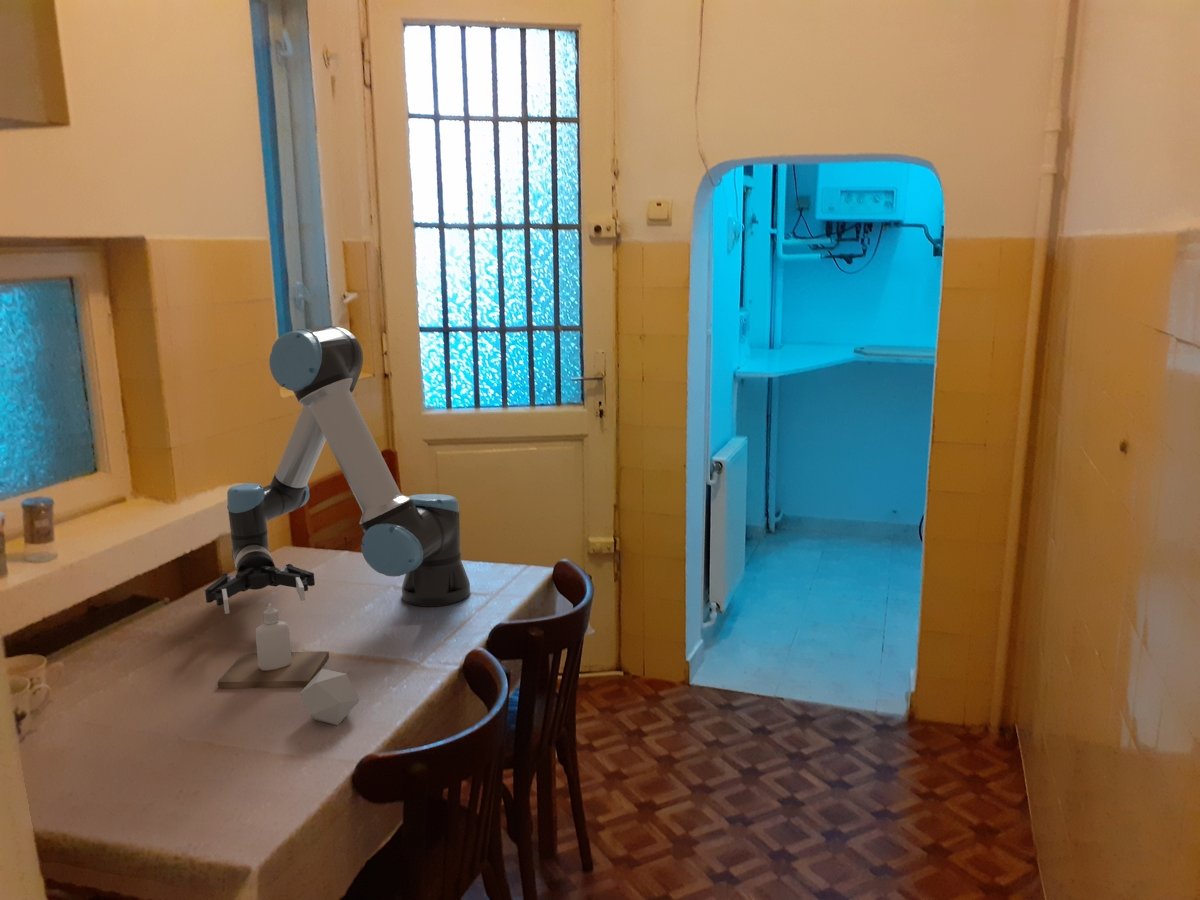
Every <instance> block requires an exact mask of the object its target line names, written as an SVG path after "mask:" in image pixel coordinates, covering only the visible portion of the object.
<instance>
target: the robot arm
mask: <svg viewBox="0 0 1200 900" xmlns="http://www.w3.org/2000/svg"><path fill="white" fill-rule="evenodd" d="M363 353H364V352H363V348H362V346H361V343H360V341H359V340H358V338H357V337H356V336H355V334H353V333H352V332H350V331H349V330H347V329H346V328H343V327H339V326H332V325H330V326H324V327H316V328H299V329H296V330H292V331H289V332H285V333H284V334H282V335H281V336H279V337H278V338H277V339H276V341H275V342H274V343H273V345H272V348H271V352H270V354H269V369H270V372H271V373H270V374H271V376H272V377H273V380H274V381H275V382H276V383H277V384H278V385H279V386H280V387H282V388H284V389H286V390H288V391H291V392H293V393H294V396H295V398H296V399H297V401H298V404H299V405H302V408H301V410H300V412H299V416H298V418H297V420H296V423H295V425H294V427H293V429H292V432H291V434H290V437H289V440H288V442H287V444H286V447H285V449H284V452H283V454H282V456H281V459H280V461H279V464H278V465H277V468H276V470H275V473H274V475H273V477H272V480H271V482H270V484H269V485H265V486H264V487H263V485H261V484H260V483H253V482H251V483H250V482H249V483H241V484H236V485H232V486H231V487H230V488H229V489H228V490H227V494H226V495H227V496H226V497H227V498H226V499H227V506H226V507H227V511H228V512H227V513H228V519H229V527H230V530H229V531H230V537H231V538H230V540H231V558H232V560H233V563H234V565H235V567H234V568H235V570H236V574H235V576H234V575H233V576H231V575H230V574H228V573H222V574H221V575H220V578H218V579H217V580H216V581H214V582H213V583H212V584H211V585H209V586H208V587H207V588H206V589H204V592H205V593H204V594H205V602H206V603H209V604H210V603H213V602H214V601H216V606H218V607H221V606H223V609H224V610H223V611H224V614H226V615H227V614H230V606H229V605H230V604H229V598H230V597H231V598H232V596H235V595H237V594H239V593H240V592H244V593H245V592H246V591H248V590H252V591H253V590H254V591H255V590H261V589H264V588H267V587H268V586H269V587H278V586H284V587H290V588H296V592H297V594H298V596H299V600H300V601H302V602H303V601H305V600H306V593H305V592H308V591H309V587H313V586H315V585H316V584H315V573H314V572H311V571H309V570H305V569H302V568H300V567H296V566H294V565H293V564H291V563H288V564H285V566H284V568H281V569H279V568H278V567H276V564H275V562H274V559H273V557H272V554H271V552H270V551H271V550H270V545H269V534H268V533H269V532H268V524H267V522H269V521H272V520H274V519H276V518H278V517H282V516H284V515H286V514H289V513H291V512H294V511H296V510H298V509H300V508H301V507H303V506H305V505H306V504H307V502H308V501H309V499H310V496H311V495H310V488H309V486H308V483H309V481H310V479H311V476H312V473H313V471H314V469H315V468H316V464H317V462H318V461H319V458H320V456H321V454H322V452H323V451H322V450H323V449H324V446H325V444H326V442H327V444H328V446H329V448H330V450H331V452H332V454H333V457H334V458H335V461H337V462H336V463H338V464H337V465H338V466H339V468H340V469H341V472H342V474H343V476H344V478H345V479H346V482H347V484H348V487H350V490H351V492H352V494H353V495H354V498H355V499H356V502H357V503H358V505H359V508H360V510H361V512H362V514H361V518H360V520H359V525H360V527H361V529H362V531H363V533H364V534H363V536H362V538H361V539H362V540H361V545H360V548H361V553H362V556H363V558H364V560H365V562H366V563H367V564H368V566H369V567H370V568H371V569H373V570H374V571H375V572H376V573H378V574H383V575H384V576H387V577H393V578H394V577H400V576H404V578H403V582H402V586H401V597H402V600H403V601H404V602H406V603H407V604H409V605H413V606H418V607H440V606H441V607H442V606H447V605H452V604H456V603H458V602H461V601H463V600H464V599H466V598H468V597H469V595H470V593H471V583H470V580H469V577H468V574H467V572H466V570H465V569H466V568H465V567H464V564H463V561H462V554H461V551H462V549H461V526H460V525H461V523H460V521H461V519H460V512H461V511H460V510H459V509H460V508H459V507H460V506H459V501H458V499H457V498H456V497H455V496H452V495H449V494H442V493H440V494H439V493H422V494H421V493H420V494H412V495H409V496H407V495H405V494H403V493H402V492H401V490H400V489H399V487H398V484H397V483H396V481H395V478H394V477H393V475H392V473H391V471H390V469H389V467H388V465H387V463H386V461H385V459H384V456H383V455H382V453H381V451H380V449H379V446H378V445H377V443H376V441H375V439H374V436H373V435H372V432H371V430H370V427H368V425H367V423H366V421H365V419H364V417H363V415H362V413H361V411H360V409H359V407H358V405H357V402H356V401H355V398H354V397H353V395H352V393H353V392H354V389H355V387H356V385H357V383H358V381H359V377H360V375H361V373H362V369H363V365H364V364H363V363H364V354H363Z"/></svg>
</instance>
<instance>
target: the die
mask: <svg viewBox="0 0 1200 900" xmlns="http://www.w3.org/2000/svg"><path fill="white" fill-rule="evenodd" d="M299 695H300V697H301V699H302V701H303V702H302V703H304V705H305V708H306V709H307V712H308V714H309V716H310V718H312V720H315V721H319V722H322V723H328V724H331V725H335V726H339V725H340V724H341V723H342V721H343V720H344V719H345V718H346V717H347V716H348V715H349V713H350V712H351V711H352V710H353V709H354V707H355V706H356V705H357V704H358V703H359V702H360V698H359V696H358V694H357V692H356V690H355V688H354V686H353V683H352V682H351V679H350V678H349V676H348V673H345V672H339V671H334V670H330V669H326V668H322V669H321V670H320V671H319V672H318V674H317V675H316V676H315V677H314V678H313V679H312V680H311V681H310V682H309V683H308V685H307V686H306V687H303V688H302V690H301V691H300V692H299Z"/></svg>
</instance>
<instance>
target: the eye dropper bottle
mask: <svg viewBox="0 0 1200 900" xmlns="http://www.w3.org/2000/svg"><path fill="white" fill-rule="evenodd" d="M263 622H264V623H262V624H260V625H259V626H258V627H256V629H255V641H256V642H255V643H256V652H257V656H258V666H259V668H260V669H261V670H262V671H269V670H275V669H279V668H282V667H285V666H288V665H290V664H291V662H292V658H291V652H292V647H291V646H292V645H291V638H290V627H289V624H288V623H287V622H286V621H283V620H279V611H278V609H277V608H274V607H273V603H272V602H271V603H270V602H269V603H268V604H267V609H265V610H264V611H263Z"/></svg>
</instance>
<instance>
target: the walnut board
mask: <svg viewBox="0 0 1200 900" xmlns="http://www.w3.org/2000/svg"><path fill="white" fill-rule="evenodd" d="M291 658H292V662H291V664H290V665H288V666H285V667H282V668H279V669H275V670H269V671H262V670H261V669H260V668H259V666H258V656H257V651H256V652H243V653H242V654H241V655H240V656H239V657H238V658H237V659H236V660H235V662H234V663H233V664H232V665H231V666H230V668H228V670H227V671H226V672H225V673H224V674H223V675H222V676H221V678H219V680H218V681H217V688H218V689H260V688H261V689H262V688H263V689H264V688H266V689H267V688H277V689H278V688H305V687H306V686H307V685H308V683H309V682H310V681H311V680H312V679H313V678H314V677H315V676H316V675H317V674H318V672H319V671H320V670H321V669H323V668H324V666H325V664H326V663H327V661H328V659H329V658H330V652H329V651H327V650H326V651H325V650H324V651H291Z"/></svg>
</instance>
